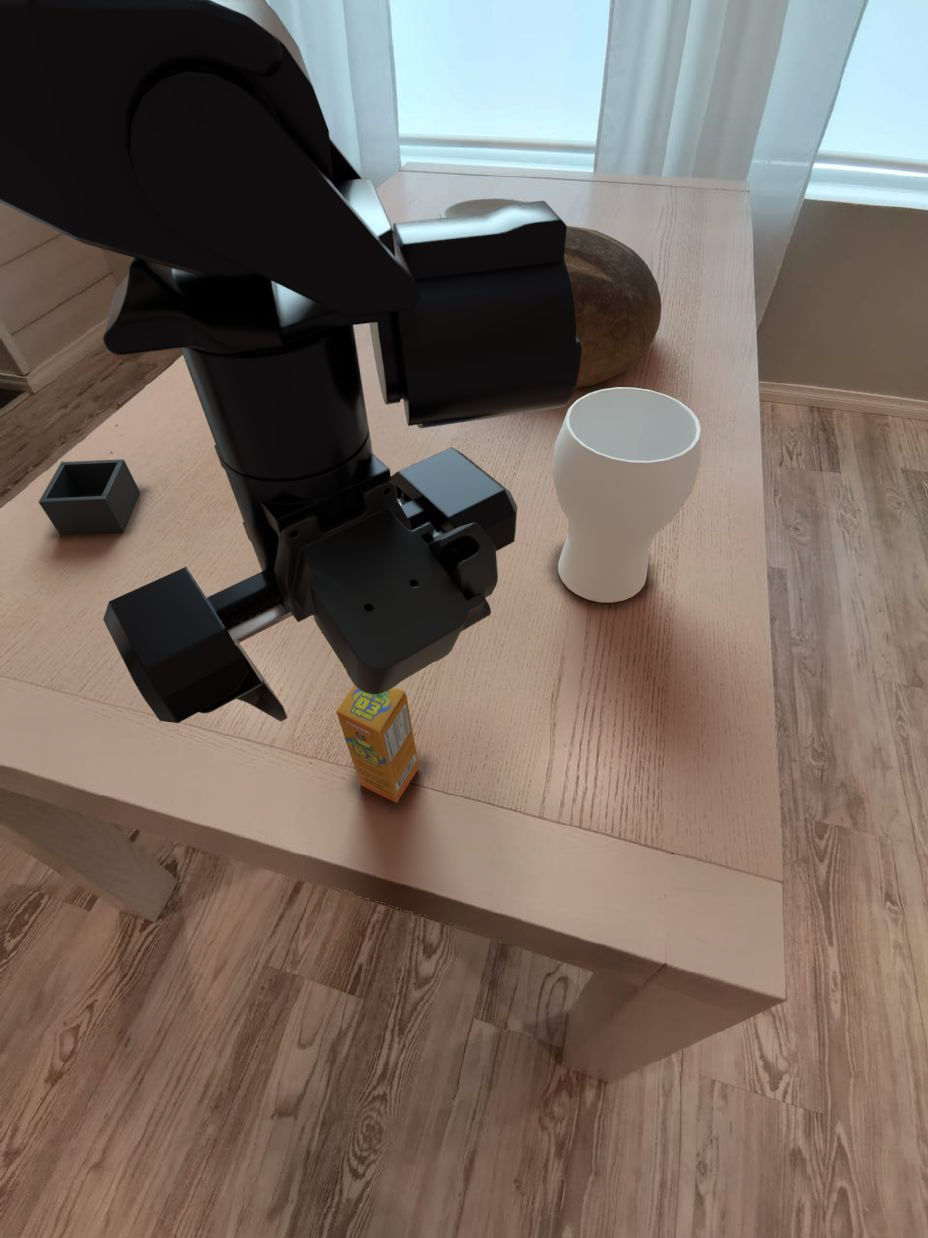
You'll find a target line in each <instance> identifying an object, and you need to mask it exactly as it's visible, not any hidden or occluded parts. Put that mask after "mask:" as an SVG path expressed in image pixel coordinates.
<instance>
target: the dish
mask: <svg viewBox="0 0 928 1238" xmlns="http://www.w3.org/2000/svg"><path fill="white" fill-rule="evenodd" d="M525 202H531V201H529V200H525V199H520V198H511V197H493V196H492V197H475V198H469V199H468V198H467V199H463V200H458V201H455V202H452V203H449V204H447V205H444V206H443V207H442V208H441V209H440V210H439V213H438V215H439V218H448V217H457V216H467V215H476V214H484V213H489V212H493V211H495V210H498V209H500V208H503V207H506V206H508V205H512V204H517V203H525Z"/></svg>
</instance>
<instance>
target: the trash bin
mask: <svg viewBox="0 0 928 1238" xmlns="http://www.w3.org/2000/svg"><path fill="white" fill-rule="evenodd" d="M140 493H141V491H140V488H139V486H138V485H137V483H136V481H135V479H134V477H133V475H132V473H131V471H130V469H129V467H128V465H127V463H126V461H125V459H123V458H122V459H121V458H120V459H100V460H99V459H97V460H78V461H76V460H75V461H61V462H60V464H59V466H58V467H57V469H56V470H55V472H54V474H53V475H52V477H51V479H50V481H49V482H48V485H47V486H46V488H45V490H44V492H43V493H42V495H41V497H40V499H39V500H38V504H39V506H40V507H41V508H42V510H43V511H44V513H45V515H46V516H47V517H48V519H49V521H50V522H51V524H52V525H53V526H54V528H55V529H56V531H57V533H58V534H59V535H60V536H62V535H63V536H64V535H65V536H66V535H82V534H85V535H86V534H105V533H106V534H107V533H124V531H125V529H126V526H127V524H128V521H129V519H130V517H131V514H132V512H133V509H134V508H135V505H136V503H137V500H138V498H139V496H140Z"/></svg>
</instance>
